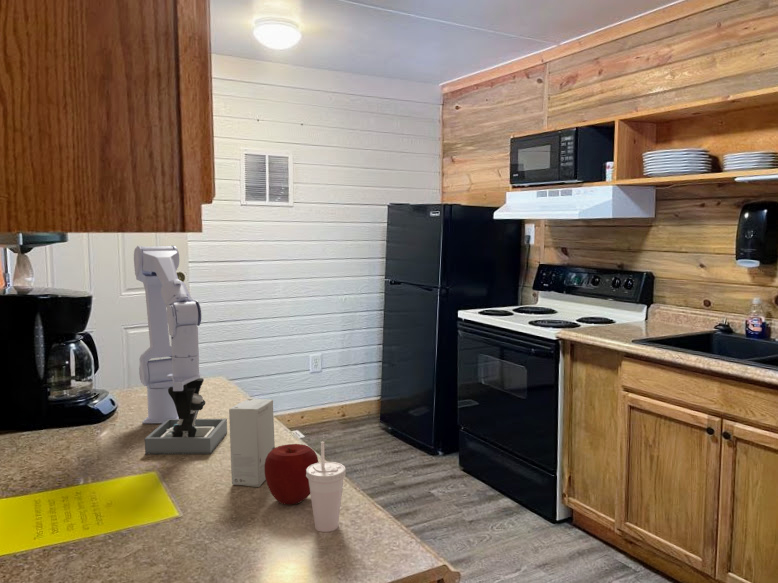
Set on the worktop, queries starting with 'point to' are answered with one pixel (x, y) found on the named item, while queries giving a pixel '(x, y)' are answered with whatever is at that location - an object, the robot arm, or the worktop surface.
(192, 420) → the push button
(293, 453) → the apple
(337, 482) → the smoothie
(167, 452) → the grey square tray
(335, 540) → the worktop surface
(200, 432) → the cream rectangular frame
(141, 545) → the worktop surface
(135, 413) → the worktop surface
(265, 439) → the skincare box
